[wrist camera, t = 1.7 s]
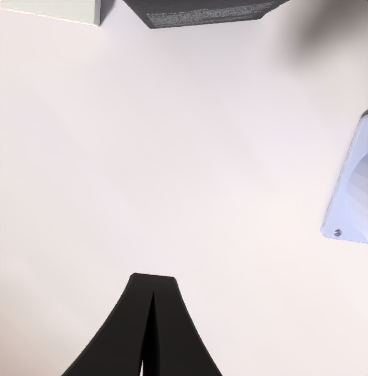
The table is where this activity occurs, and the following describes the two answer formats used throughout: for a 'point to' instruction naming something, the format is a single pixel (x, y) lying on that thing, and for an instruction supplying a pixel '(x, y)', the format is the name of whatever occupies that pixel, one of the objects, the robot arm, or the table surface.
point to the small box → (199, 11)
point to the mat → (58, 9)
